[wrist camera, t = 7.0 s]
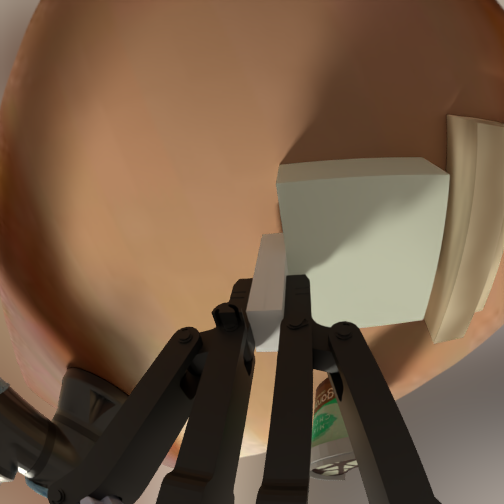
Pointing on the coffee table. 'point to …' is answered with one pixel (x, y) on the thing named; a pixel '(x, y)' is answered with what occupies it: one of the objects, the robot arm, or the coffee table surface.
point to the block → (364, 235)
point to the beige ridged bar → (468, 226)
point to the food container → (329, 438)
